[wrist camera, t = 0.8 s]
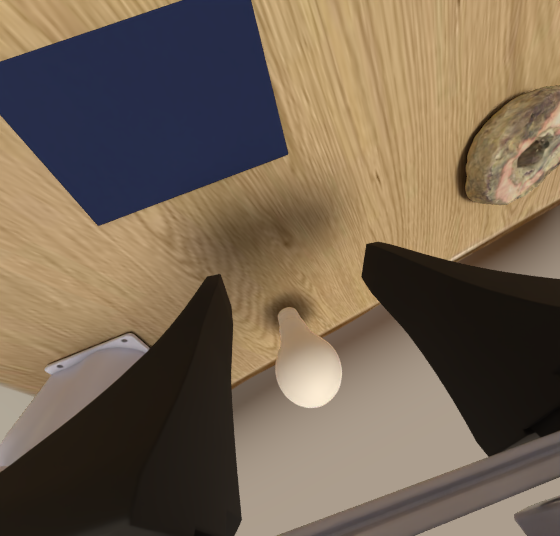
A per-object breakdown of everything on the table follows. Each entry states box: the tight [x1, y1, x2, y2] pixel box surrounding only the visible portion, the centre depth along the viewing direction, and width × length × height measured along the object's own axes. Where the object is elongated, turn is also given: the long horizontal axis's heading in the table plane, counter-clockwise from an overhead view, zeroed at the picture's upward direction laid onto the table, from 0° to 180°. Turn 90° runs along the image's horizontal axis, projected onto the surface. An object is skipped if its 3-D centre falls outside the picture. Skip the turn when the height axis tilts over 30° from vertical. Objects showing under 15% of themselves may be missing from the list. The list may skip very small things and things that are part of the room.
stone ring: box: [465, 85, 560, 205], centre depth 20 cm, size 10×4×10 cm
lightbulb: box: [275, 307, 342, 408], centre depth 21 cm, size 6×6×11 cm
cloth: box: [0, 0, 288, 226], centre depth 14 cm, size 16×9×1 cm, turn 107°
